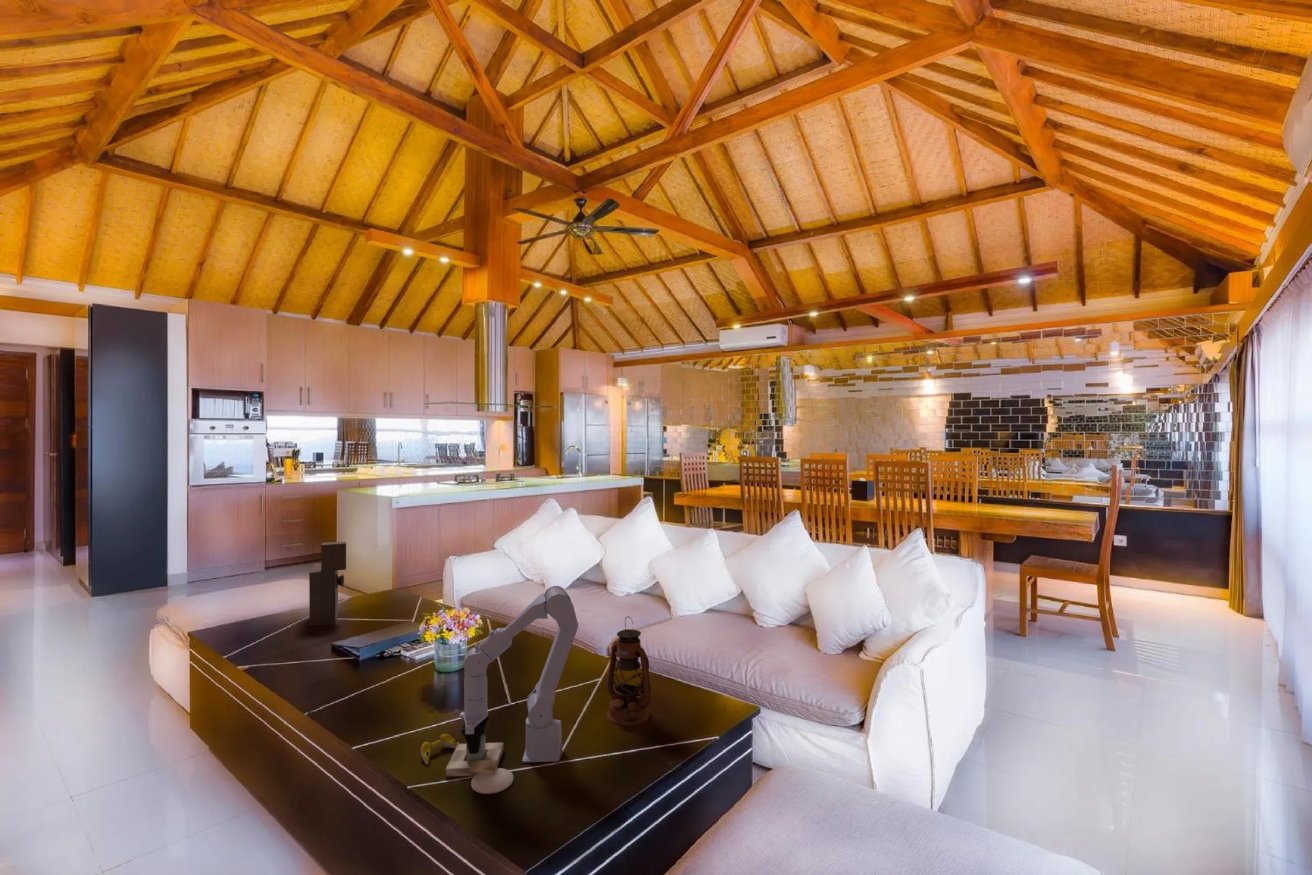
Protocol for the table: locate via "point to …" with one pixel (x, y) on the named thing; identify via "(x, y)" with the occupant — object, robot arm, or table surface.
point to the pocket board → (472, 768)
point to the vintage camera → (326, 584)
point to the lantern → (626, 698)
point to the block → (481, 752)
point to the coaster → (492, 781)
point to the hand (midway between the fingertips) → (475, 748)
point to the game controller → (443, 740)
